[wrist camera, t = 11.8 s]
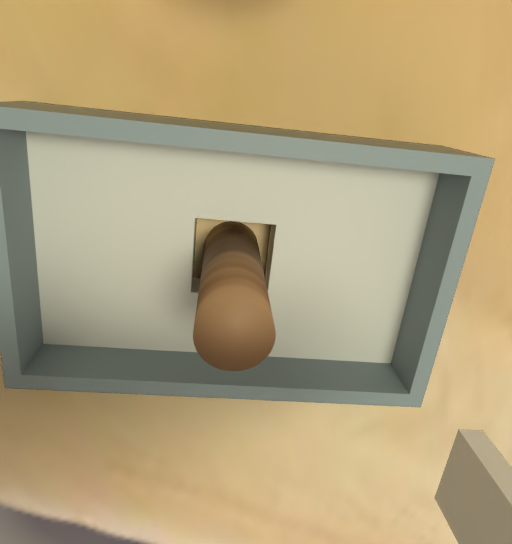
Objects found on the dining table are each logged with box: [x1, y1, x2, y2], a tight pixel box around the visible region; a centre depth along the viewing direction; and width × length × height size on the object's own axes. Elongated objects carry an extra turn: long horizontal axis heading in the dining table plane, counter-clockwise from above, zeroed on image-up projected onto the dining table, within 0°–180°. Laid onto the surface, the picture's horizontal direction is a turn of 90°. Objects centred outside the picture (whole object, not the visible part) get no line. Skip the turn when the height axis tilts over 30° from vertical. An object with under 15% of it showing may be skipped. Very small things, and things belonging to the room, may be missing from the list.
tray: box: [0, 101, 495, 407], centre depth 27 cm, size 26×16×6 cm, turn 84°
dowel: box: [193, 221, 276, 371], centre depth 25 cm, size 4×4×12 cm
